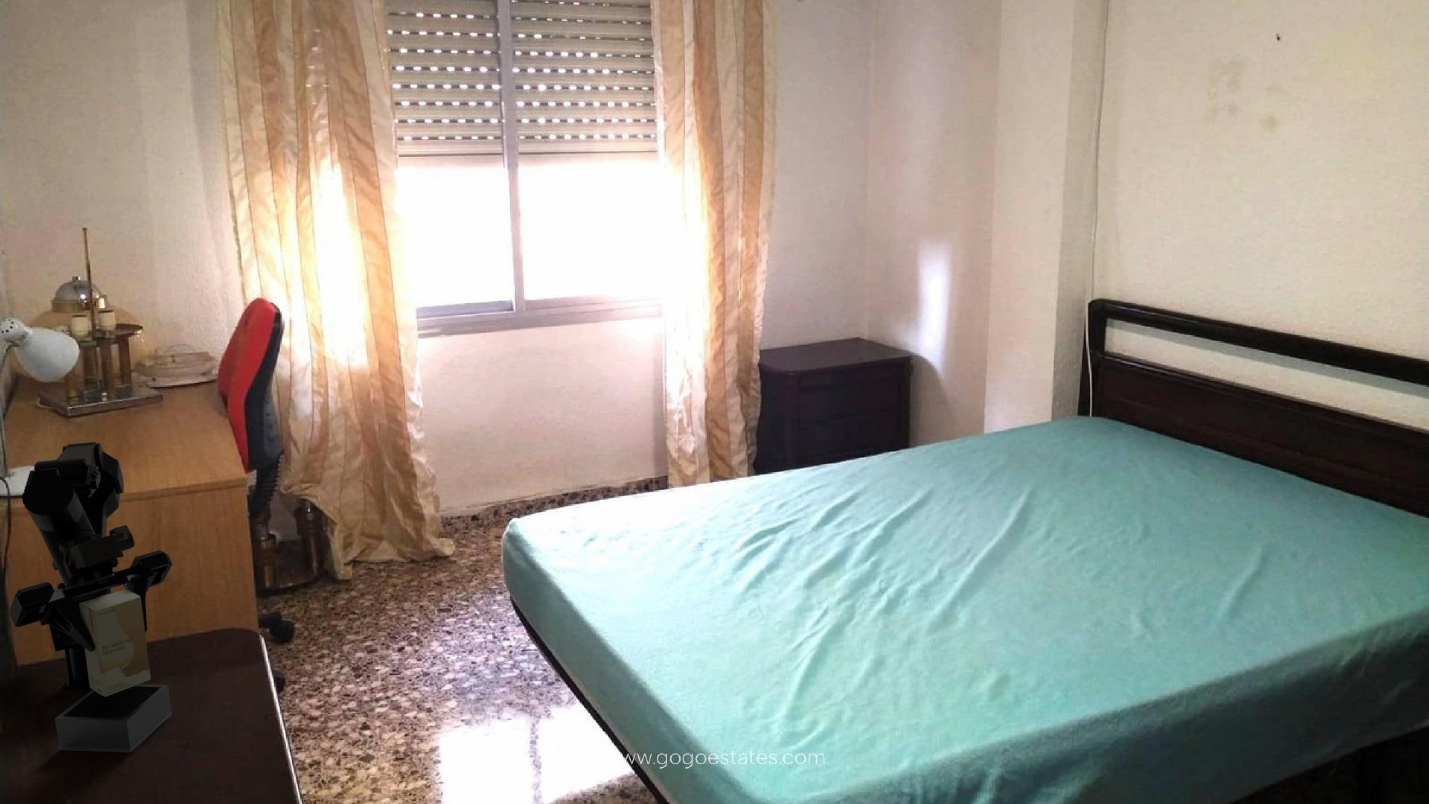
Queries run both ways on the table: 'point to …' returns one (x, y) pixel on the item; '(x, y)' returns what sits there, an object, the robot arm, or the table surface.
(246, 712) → the table surface
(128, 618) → the skincare box
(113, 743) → the grey open tray
